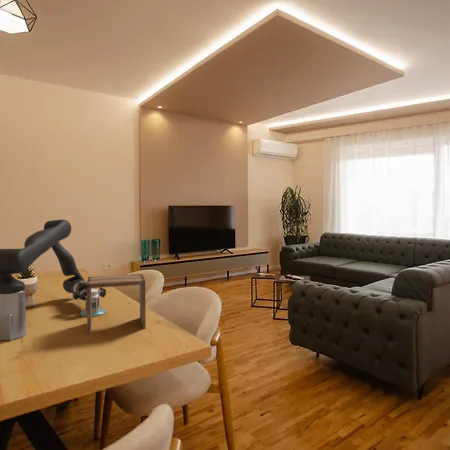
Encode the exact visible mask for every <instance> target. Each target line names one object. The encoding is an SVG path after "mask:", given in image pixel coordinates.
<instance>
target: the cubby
mask: <svg viewBox="0 0 450 450" xmlns="http://www.w3.org/2000/svg"><path fill="white" fill-rule="evenodd" d="M86 282H87V284H86V286H87V317H86V323H87V325H86V328H87V329H86V331H87V335H91V331H92V324H93V317H92V305H91V288H94V289H99V288H111V287H112V288H113V287H114V288H115V287H125V286H126V287H127V286H131V287H132V286H139V319H140V322H141V325H142V329H146V325H147V324H146V280H145V277H144V274H143V273H137V274H136V273H135V274H133V273H132V274H121V275H120V274H119V275H118V274H117V275H102V276H101V275H100V276H89V277H87V281H86Z"/></svg>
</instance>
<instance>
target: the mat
mask: <svg viewBox="0 0 450 450" xmlns="http://www.w3.org/2000/svg"><path fill="white" fill-rule="evenodd" d="M106 312H107V310H106V309H105V308H100V307H99V311H98V312H96V313H92V318H93V317H94V318H95V317H100V316H102V315H105V314H106ZM79 314H80V316H81V317H85V318H87V312H86V309H84V310H82V311H80V313H79Z"/></svg>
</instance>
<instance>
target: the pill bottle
mask: <svg viewBox="0 0 450 450" xmlns="http://www.w3.org/2000/svg"><path fill="white" fill-rule="evenodd" d="M96 289H97V288H94V289H91V305H92V313H96V312H98V311H99V308H100V296H99V295H98V294H97V293H98V290H96ZM85 310H86V312H87V296H86V299H85Z"/></svg>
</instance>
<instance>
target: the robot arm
mask: <svg viewBox="0 0 450 450" xmlns="http://www.w3.org/2000/svg"><path fill="white" fill-rule="evenodd" d="M71 233H72V225H71V223H70V221H69V220H66V219H55V220H54V219H53V220H48V221H45V223H44V225H43V229H41V230H38V231H35V232H34V233H32V234H31V235H29V236H28V237H27V238H26V239H25V241H24V247H22V248H0V341H2V340H3V341H13V340H16V339H19V338H22V337H25V336H26V335H27V317H26V316H27V314H26V313H27V311H26V310H27V309H26V284H25V282H24V281H22V280H19V279H16V277H14V276H13V275H12V274H21V273H24V272H25V271H26V270H28V269H29V267H31V266H32V265H33V263H34V262H35V261H36V260H37V259H39V257H41V256H42V255H43V254H45V253H46V252H47V251H48V250H50V249H52V251H53V253H54V254H55V257H56V259H57V260H58V262H59V266H60V268H61V272H62V274H63V276H65V277H69V276H71V277H69V278H66V279H64V280H63V282H62V287H63V290H64V291H65V292H67V293H69V294H72V298H73V299H74V300H77V301H78V299H79V300H81V301H85V302H86V296H87V286H86V284H87V281H86V280H85V278H84V277H83V275H81V273H80V271H79V269H78V267H77V265H76V262H75V261H76V260H75V258H74V256H73V255H72V253H70V252H69V251H68V249H66V248H65V247H64V246H63V245H62V244H61V242H60V241H63V240H65V239H67V238H68V237H70V235H71ZM91 289H96V290H98V293H97V294H98V295H99V297H101V298H105V297H106V295H107V289H105V288H104V287H100V288H91Z"/></svg>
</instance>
